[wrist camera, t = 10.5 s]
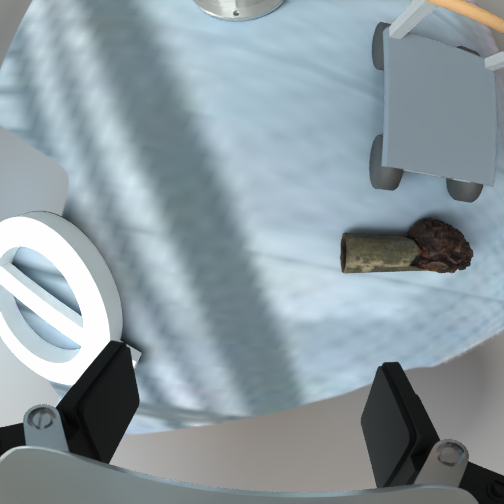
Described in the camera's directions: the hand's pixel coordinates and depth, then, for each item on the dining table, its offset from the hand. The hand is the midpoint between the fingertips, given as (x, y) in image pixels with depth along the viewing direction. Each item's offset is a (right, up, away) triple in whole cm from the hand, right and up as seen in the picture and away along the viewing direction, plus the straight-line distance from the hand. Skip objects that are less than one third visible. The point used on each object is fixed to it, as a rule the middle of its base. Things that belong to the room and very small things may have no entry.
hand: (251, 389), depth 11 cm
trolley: (+21, +22, +22) cm, 37 cm away
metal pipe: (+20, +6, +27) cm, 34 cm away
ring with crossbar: (-33, -2, +33) cm, 46 cm away
